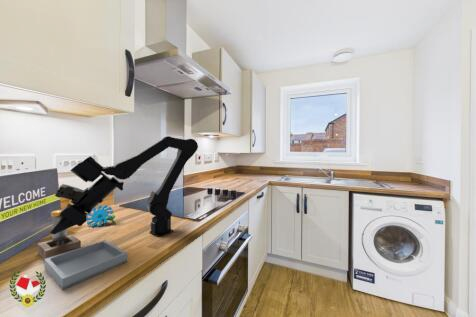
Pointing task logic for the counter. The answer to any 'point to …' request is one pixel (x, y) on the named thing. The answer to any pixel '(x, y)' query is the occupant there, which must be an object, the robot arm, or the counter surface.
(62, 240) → the steel pin
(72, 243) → the collar block
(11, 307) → the counter surface
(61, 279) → the tray
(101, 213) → the gear
